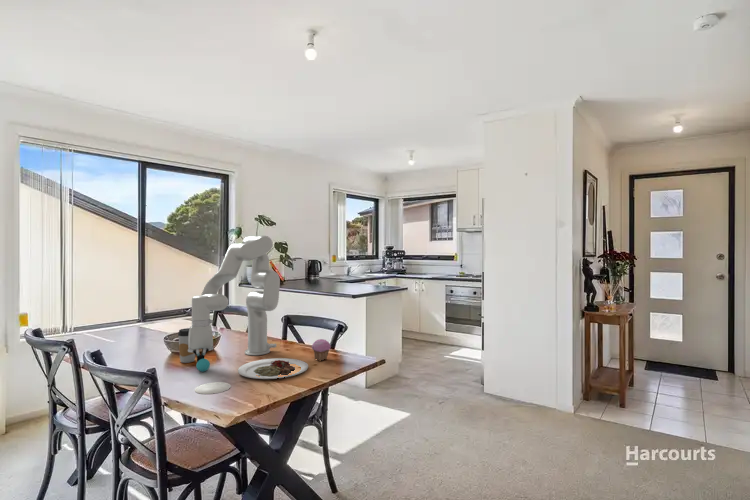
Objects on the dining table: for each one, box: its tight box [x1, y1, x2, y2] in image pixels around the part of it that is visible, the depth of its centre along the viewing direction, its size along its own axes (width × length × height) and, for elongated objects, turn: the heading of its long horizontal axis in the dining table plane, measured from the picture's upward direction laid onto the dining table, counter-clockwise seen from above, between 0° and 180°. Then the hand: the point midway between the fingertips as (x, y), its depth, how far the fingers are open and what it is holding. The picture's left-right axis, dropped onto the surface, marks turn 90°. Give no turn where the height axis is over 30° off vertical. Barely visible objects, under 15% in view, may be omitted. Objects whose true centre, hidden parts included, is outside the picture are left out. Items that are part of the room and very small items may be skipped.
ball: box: [195, 358, 211, 373], centre depth 183 cm, size 6×6×6 cm
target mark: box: [194, 381, 232, 395], centre depth 161 cm, size 13×13×1 cm
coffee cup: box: [177, 327, 196, 364], centre depth 199 cm, size 8×8×15 cm
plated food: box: [237, 357, 309, 380], centre depth 184 cm, size 30×30×3 cm
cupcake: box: [311, 338, 331, 361], centre depth 202 cm, size 9×9×10 cm
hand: (200, 363), depth 189 cm, fingers closed
